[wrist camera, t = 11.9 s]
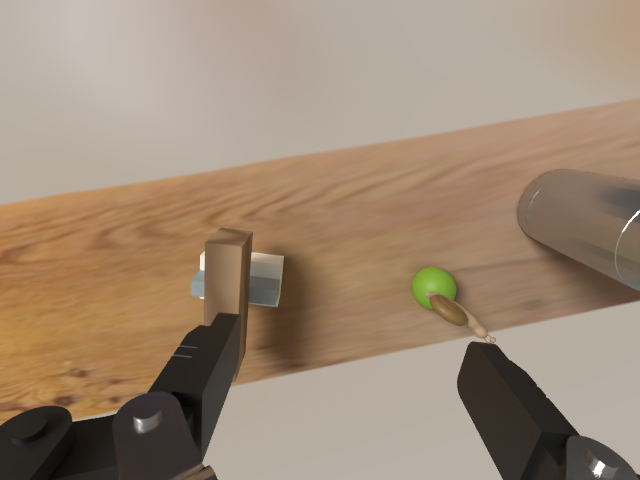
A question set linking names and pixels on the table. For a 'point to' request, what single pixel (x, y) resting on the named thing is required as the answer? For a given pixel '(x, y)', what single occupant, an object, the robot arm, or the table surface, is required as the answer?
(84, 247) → the table surface
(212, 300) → the walnut bar
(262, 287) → the white grey stepped block
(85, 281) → the table surface
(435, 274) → the snail figurine
